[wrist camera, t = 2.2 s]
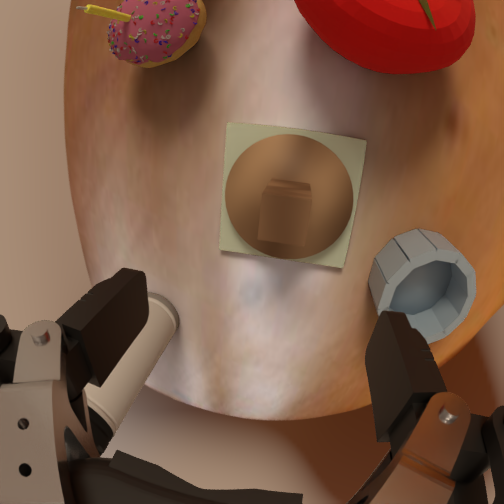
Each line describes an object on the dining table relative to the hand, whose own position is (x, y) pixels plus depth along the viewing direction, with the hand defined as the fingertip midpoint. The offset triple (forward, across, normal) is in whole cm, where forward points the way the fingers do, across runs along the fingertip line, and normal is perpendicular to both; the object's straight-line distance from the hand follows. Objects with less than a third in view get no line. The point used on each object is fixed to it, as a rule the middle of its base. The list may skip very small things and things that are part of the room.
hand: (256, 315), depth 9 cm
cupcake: (+18, +12, -15) cm, 27 cm away
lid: (+18, 0, 0) cm, 18 cm away
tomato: (+18, -6, -18) cm, 26 cm away
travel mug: (+19, +14, +16) cm, 28 cm away
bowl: (+18, -14, +6) cm, 24 cm away
